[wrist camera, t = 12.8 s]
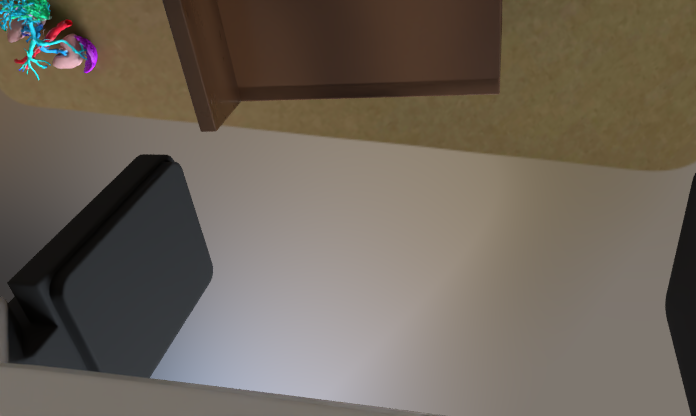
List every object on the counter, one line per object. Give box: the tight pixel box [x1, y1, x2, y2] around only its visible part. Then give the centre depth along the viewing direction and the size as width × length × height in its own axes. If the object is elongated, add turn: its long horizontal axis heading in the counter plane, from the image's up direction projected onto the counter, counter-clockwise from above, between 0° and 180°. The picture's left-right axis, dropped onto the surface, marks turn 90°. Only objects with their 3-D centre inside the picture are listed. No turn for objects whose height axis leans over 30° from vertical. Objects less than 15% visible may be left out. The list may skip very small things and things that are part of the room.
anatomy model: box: [0, 0, 97, 80], centre depth 47 cm, size 5×8×7 cm
